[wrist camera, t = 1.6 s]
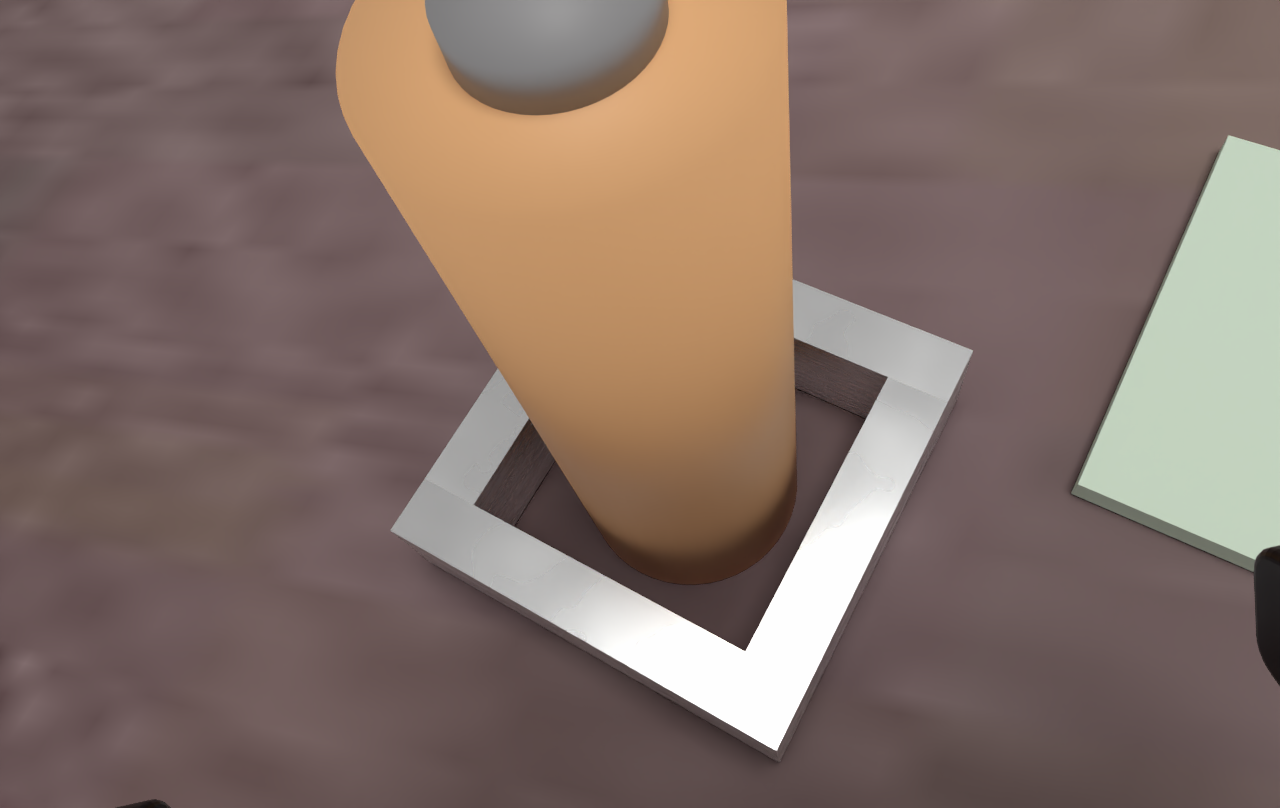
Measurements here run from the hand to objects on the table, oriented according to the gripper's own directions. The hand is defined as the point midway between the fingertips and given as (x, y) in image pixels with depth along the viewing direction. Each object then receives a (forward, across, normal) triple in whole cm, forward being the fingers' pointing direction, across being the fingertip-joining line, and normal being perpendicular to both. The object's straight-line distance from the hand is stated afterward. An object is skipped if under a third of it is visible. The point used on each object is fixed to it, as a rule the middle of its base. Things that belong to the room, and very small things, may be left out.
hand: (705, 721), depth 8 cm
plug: (+14, 0, +4) cm, 15 cm away
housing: (+14, 0, +4) cm, 15 cm away
